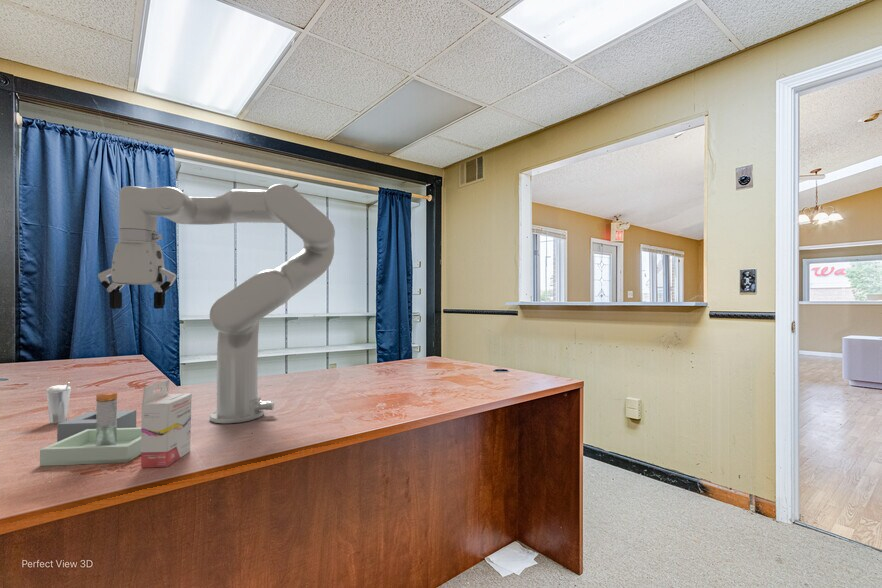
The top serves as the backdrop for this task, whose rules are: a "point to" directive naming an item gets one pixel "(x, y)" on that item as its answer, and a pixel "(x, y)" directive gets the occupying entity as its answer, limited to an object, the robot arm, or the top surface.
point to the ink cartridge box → (164, 426)
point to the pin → (106, 419)
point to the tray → (92, 449)
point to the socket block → (93, 423)
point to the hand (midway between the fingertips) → (137, 308)
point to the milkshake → (58, 403)
